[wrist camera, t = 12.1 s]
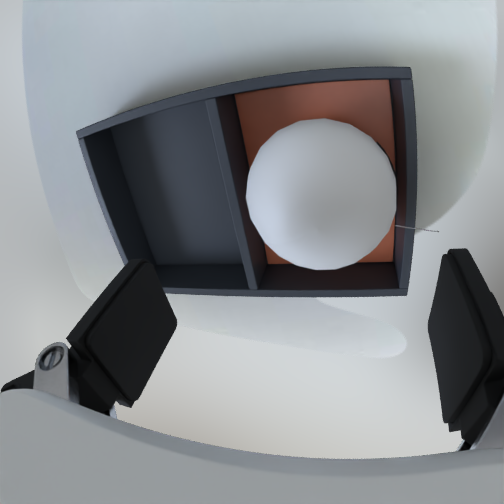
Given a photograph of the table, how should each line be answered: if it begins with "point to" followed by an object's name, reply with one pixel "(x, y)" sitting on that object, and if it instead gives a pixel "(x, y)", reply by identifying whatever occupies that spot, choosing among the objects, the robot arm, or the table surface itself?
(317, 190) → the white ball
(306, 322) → the table surface
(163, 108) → the tray
